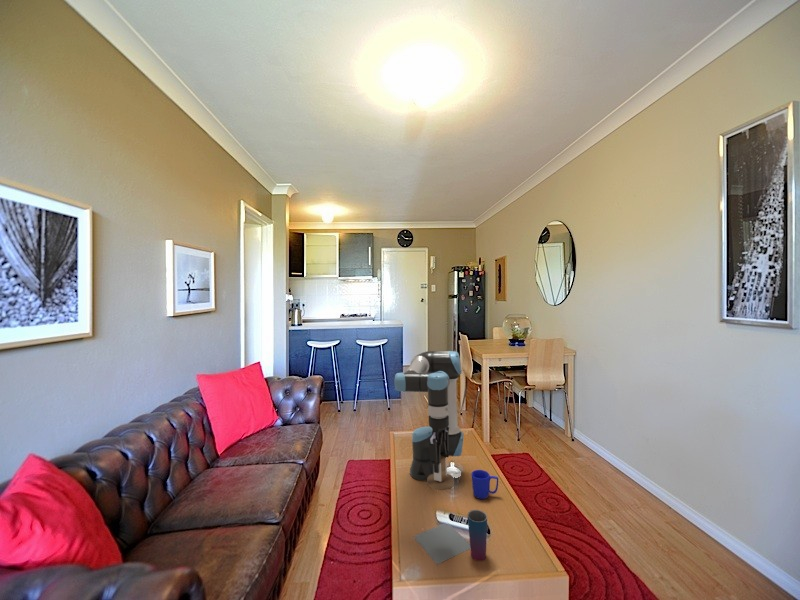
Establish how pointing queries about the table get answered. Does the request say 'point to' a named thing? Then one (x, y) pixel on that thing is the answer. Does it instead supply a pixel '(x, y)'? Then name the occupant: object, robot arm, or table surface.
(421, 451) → the robot arm
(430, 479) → the lid
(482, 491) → the mug
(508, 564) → the table surface
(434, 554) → the mat
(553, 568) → the table surface
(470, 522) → the cup
